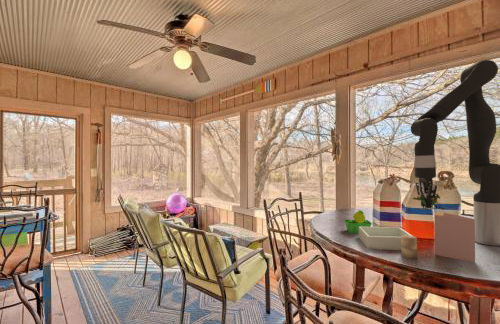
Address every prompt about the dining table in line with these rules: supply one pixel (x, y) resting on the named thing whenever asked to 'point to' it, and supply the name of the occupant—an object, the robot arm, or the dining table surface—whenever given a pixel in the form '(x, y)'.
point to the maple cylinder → (409, 246)
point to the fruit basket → (357, 222)
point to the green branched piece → (424, 200)
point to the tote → (382, 237)
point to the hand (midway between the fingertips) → (426, 206)
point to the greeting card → (455, 237)
